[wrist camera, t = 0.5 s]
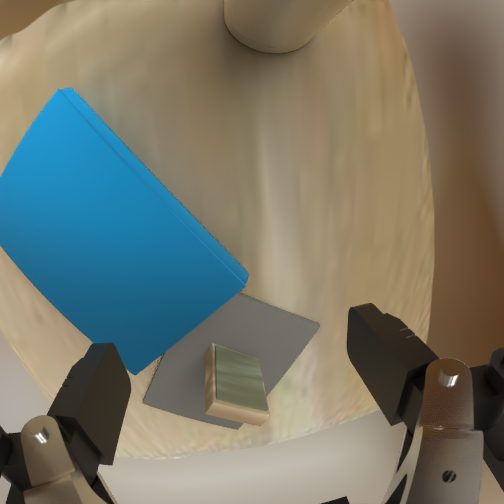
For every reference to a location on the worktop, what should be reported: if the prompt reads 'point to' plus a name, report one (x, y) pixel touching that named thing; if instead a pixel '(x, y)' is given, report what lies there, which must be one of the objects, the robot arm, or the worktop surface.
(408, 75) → the worktop surface
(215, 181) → the worktop surface
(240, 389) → the tile
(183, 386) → the mat
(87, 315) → the book
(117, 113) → the worktop surface
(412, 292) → the worktop surface
